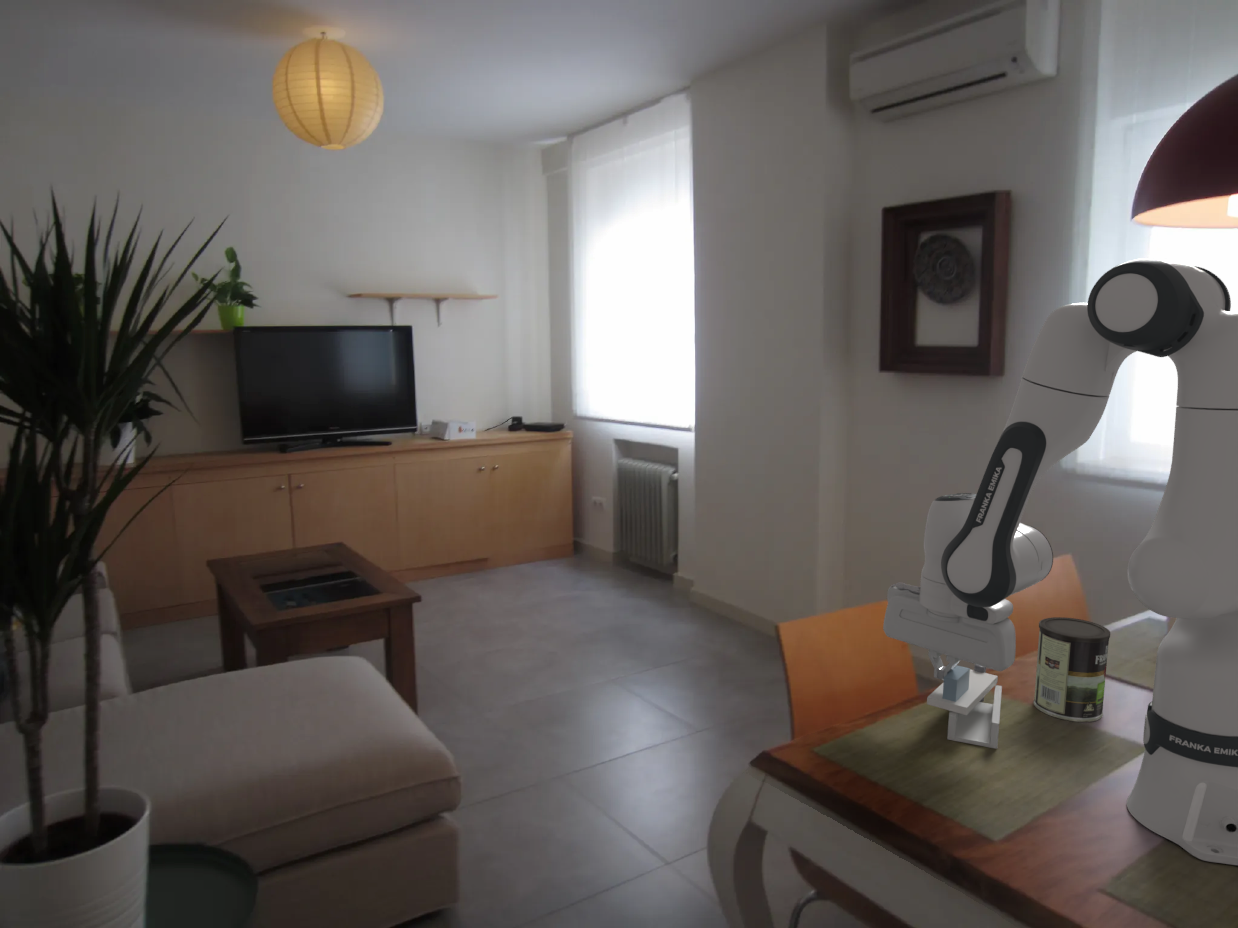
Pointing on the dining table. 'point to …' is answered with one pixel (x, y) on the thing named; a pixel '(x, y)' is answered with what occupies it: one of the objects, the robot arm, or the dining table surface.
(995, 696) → the duct
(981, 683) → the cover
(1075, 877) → the dining table surface
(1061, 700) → the coffee can
